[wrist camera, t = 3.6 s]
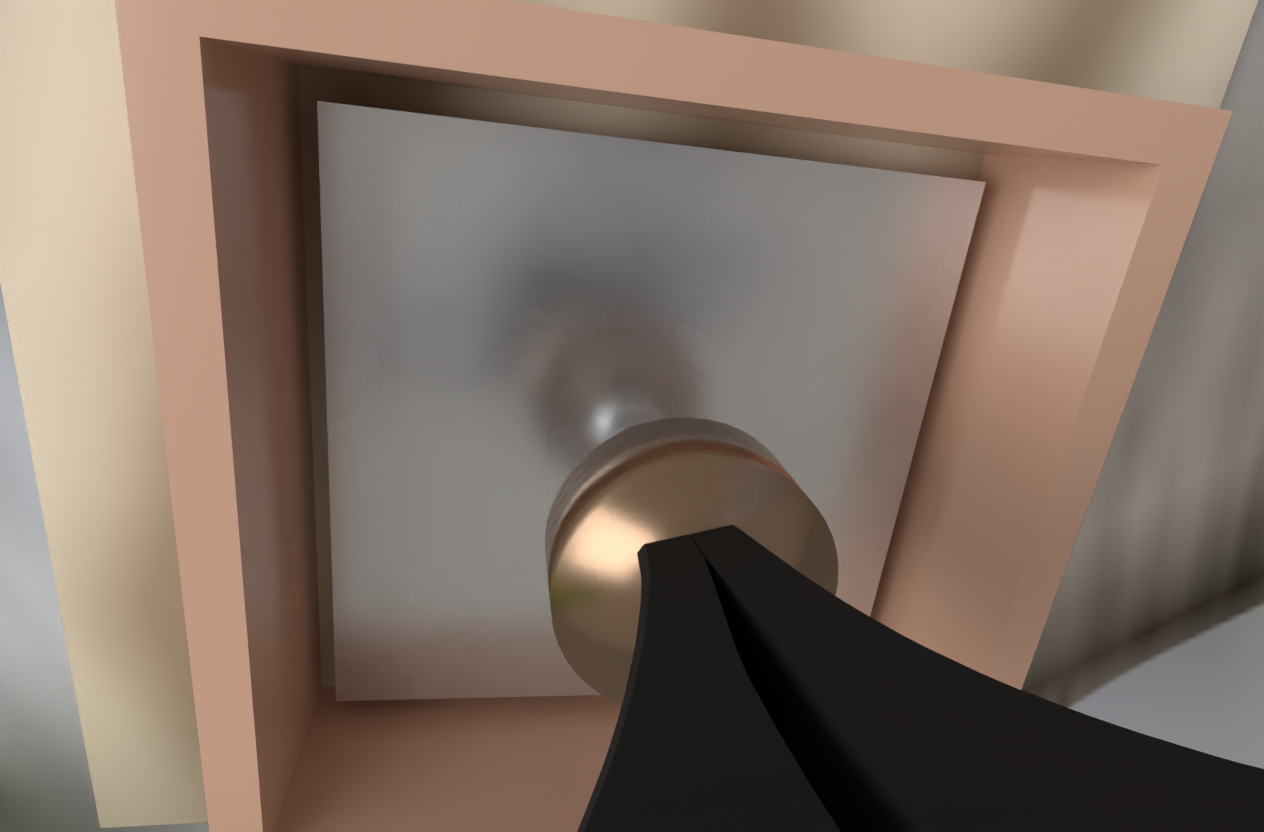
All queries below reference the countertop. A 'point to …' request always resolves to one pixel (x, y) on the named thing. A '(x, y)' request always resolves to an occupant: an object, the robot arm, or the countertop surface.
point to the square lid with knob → (603, 383)
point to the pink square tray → (654, 81)
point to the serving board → (119, 305)
